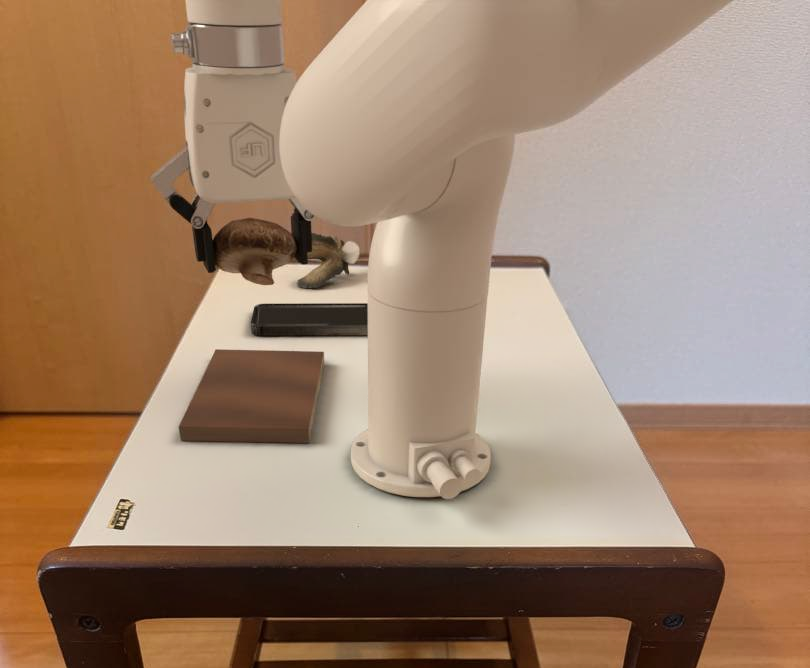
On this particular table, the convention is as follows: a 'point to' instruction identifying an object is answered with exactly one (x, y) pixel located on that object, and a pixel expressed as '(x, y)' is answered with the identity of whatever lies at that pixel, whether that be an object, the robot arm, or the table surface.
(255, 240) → the mushroom
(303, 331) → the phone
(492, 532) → the table surface
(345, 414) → the table surface
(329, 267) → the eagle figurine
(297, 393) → the cutting board
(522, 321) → the table surface
